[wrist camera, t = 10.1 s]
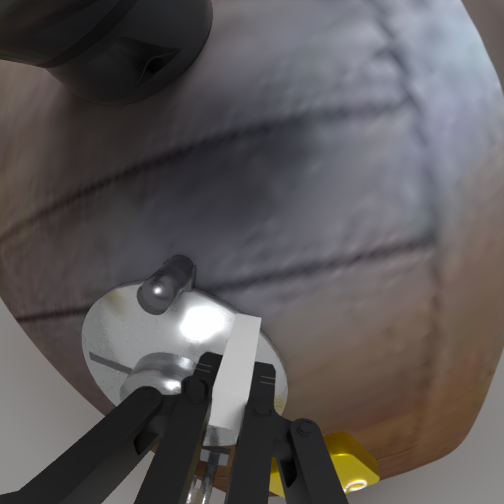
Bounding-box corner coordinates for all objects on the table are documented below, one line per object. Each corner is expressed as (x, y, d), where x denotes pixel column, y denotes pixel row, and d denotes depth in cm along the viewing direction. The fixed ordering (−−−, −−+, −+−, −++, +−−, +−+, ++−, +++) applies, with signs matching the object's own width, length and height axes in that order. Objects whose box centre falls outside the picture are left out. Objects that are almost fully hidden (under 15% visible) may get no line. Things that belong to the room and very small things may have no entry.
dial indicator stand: (202, 439, 32) (182, 507, 21) (231, 445, 32) (215, 515, 21) (201, 455, 34) (183, 516, 23) (227, 460, 34) (213, 523, 22)
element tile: (343, 425, 29) (348, 454, 25) (379, 461, 32) (384, 483, 27) (250, 457, 33) (246, 482, 29) (300, 487, 36) (300, 508, 31)
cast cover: (130, 341, 26) (110, 366, 21) (226, 366, 25) (216, 398, 21) (139, 402, 29) (125, 427, 25) (218, 424, 28) (210, 452, 24)
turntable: (75, 231, 24) (33, 249, 18) (324, 282, 23) (336, 320, 17) (103, 406, 32) (84, 434, 26) (263, 452, 31) (259, 488, 25)
